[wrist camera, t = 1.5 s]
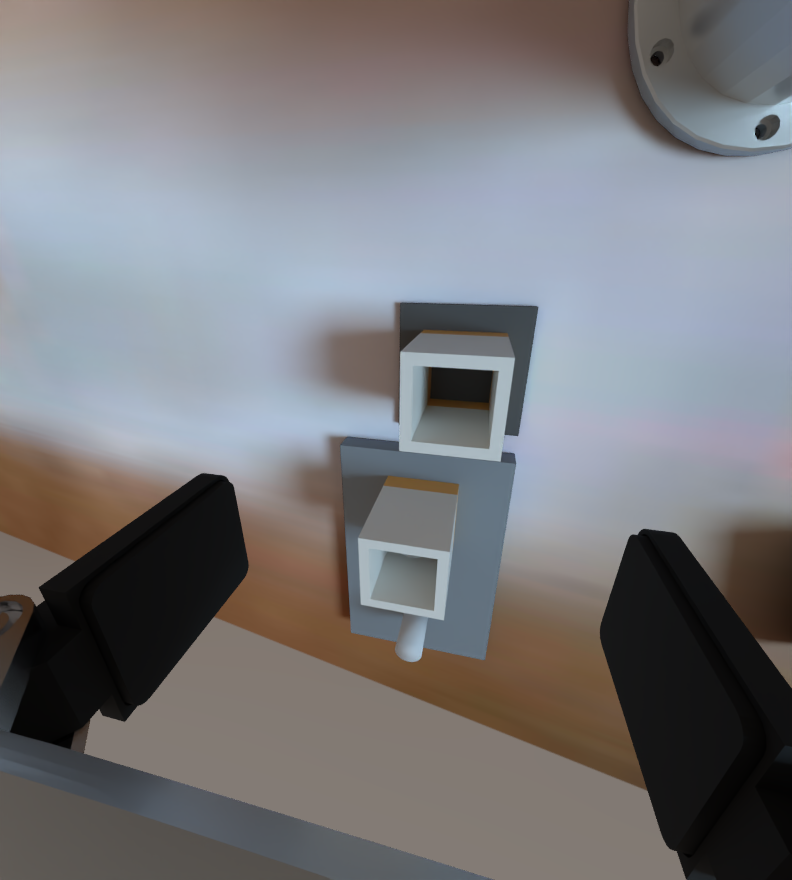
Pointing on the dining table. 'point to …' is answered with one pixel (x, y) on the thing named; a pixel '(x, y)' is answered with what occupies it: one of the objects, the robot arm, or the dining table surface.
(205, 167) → the dining table surface
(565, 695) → the dining table surface
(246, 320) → the dining table surface
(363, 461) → the pin board
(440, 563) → the seated sleeve
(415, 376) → the sleeve
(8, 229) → the dining table surface
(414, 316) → the mat
